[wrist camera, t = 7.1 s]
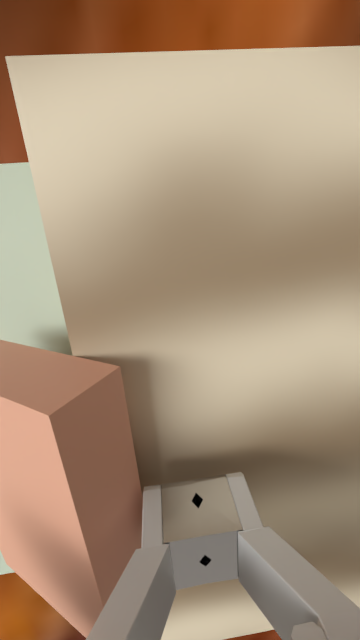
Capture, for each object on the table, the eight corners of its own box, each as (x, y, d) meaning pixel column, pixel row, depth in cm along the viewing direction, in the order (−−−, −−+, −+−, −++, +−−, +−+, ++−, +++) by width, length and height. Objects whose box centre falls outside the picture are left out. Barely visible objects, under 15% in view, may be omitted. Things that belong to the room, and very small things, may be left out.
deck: (65, 128, 9) (5, 56, 5) (445, 109, 10) (621, 37, 6) (142, 556, 16) (140, 655, 12) (361, 519, 17) (420, 600, 13)
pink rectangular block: (-10, 337, 9) (-83, 363, 8) (119, 366, 7) (48, 416, 5) (50, 517, 12) (6, 563, 11) (158, 592, 9) (121, 671, 8)
